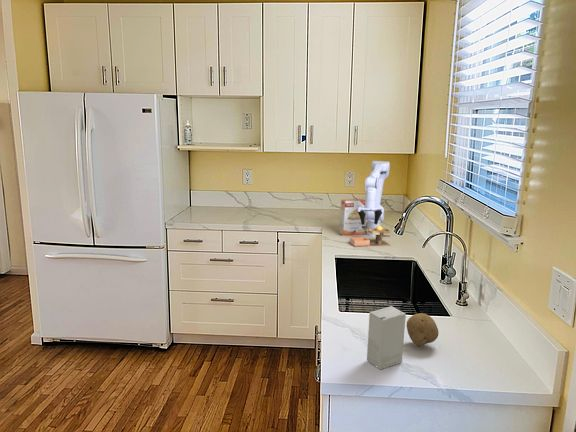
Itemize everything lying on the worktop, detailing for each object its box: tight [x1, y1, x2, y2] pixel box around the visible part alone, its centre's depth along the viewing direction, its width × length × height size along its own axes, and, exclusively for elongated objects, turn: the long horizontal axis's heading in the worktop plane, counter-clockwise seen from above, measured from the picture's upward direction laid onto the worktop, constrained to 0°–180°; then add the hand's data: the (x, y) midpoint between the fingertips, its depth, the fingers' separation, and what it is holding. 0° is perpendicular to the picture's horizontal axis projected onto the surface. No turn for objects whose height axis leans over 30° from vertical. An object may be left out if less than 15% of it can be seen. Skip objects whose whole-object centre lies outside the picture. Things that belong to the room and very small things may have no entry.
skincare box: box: [366, 305, 407, 370], centre depth 127 cm, size 8×6×15 cm
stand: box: [348, 232, 392, 248], centre depth 248 cm, size 9×21×8 cm, turn 103°
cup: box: [349, 236, 371, 247], centre depth 247 cm, size 7×8×3 cm
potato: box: [406, 312, 440, 348], centre depth 138 cm, size 9×9×10 cm
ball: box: [376, 226, 384, 231], centre depth 248 cm, size 4×4×4 cm
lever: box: [362, 225, 391, 238], centre depth 252 cm, size 13×11×4 cm
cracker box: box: [338, 198, 367, 236], centre depth 270 cm, size 14×6×21 cm, turn 109°
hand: (369, 224), depth 253 cm, fingers open, 7 cm apart
